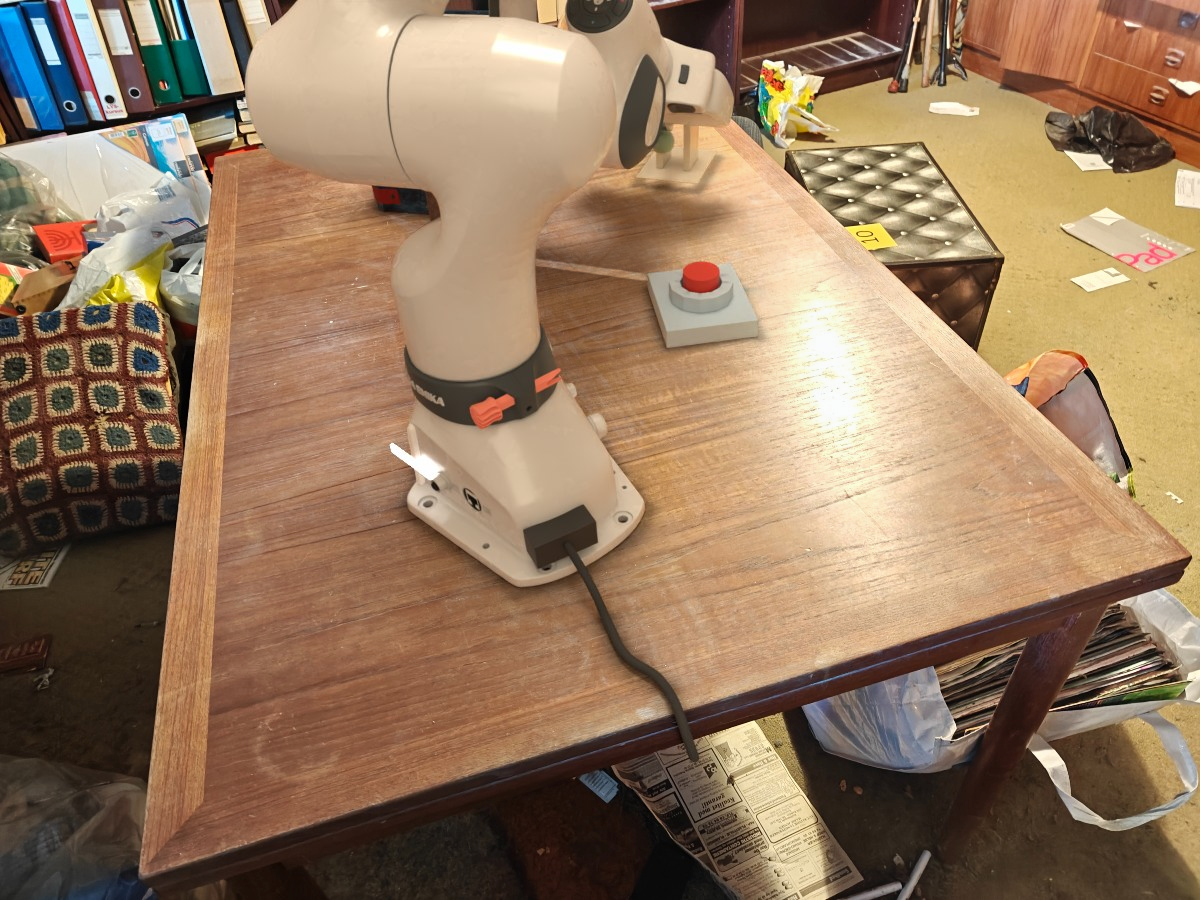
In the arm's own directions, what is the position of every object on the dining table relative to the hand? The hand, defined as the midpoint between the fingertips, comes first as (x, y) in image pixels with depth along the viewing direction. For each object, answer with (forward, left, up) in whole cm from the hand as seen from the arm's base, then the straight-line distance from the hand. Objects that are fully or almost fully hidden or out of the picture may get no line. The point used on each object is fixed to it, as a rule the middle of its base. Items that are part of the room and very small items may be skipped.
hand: (662, 124), depth 112 cm
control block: (-25, +16, -9) cm, 31 cm away
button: (-25, +16, -6) cm, 31 cm away
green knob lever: (+2, -3, -2) cm, 4 cm away
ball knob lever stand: (+4, -6, -9) cm, 12 cm away
